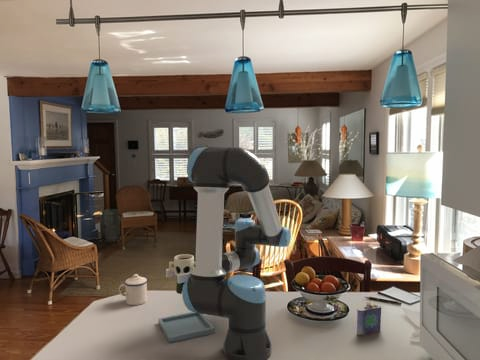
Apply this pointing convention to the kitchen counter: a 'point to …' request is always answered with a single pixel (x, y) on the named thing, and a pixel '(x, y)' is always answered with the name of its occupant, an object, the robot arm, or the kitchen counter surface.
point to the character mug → (182, 267)
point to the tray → (185, 326)
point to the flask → (368, 319)
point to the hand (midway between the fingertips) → (172, 276)
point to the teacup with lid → (135, 290)
